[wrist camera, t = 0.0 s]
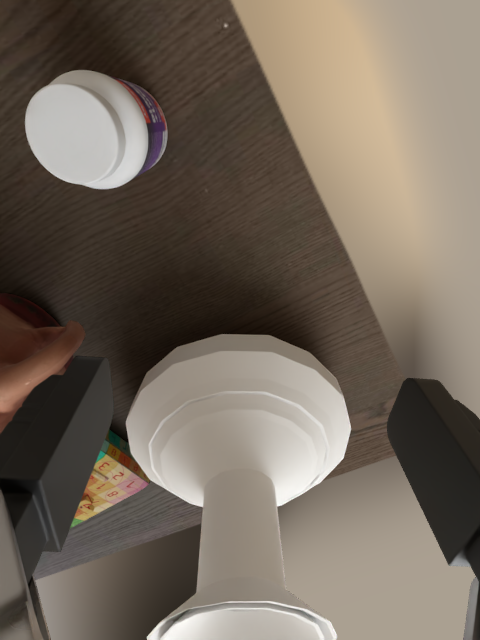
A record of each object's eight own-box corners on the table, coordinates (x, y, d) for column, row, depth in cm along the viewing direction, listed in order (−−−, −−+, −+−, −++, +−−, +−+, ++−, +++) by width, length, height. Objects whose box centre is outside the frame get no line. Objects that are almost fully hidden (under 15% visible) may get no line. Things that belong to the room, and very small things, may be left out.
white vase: (366, 423, 38) (468, 663, 22) (209, 486, 43) (194, 721, 26) (280, 275, 30) (343, 486, 13) (96, 374, 34) (-34, 621, 18)
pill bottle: (181, 108, 23) (152, 106, 15) (152, 185, 26) (113, 221, 17) (100, 62, 22) (18, 31, 14) (77, 147, 25) (-4, 166, 16)
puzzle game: (147, 491, 36) (25, 558, 42) (156, 453, 40) (43, 519, 46) (51, 426, 31) (-71, 512, 37) (72, 390, 35) (-41, 473, 41)
